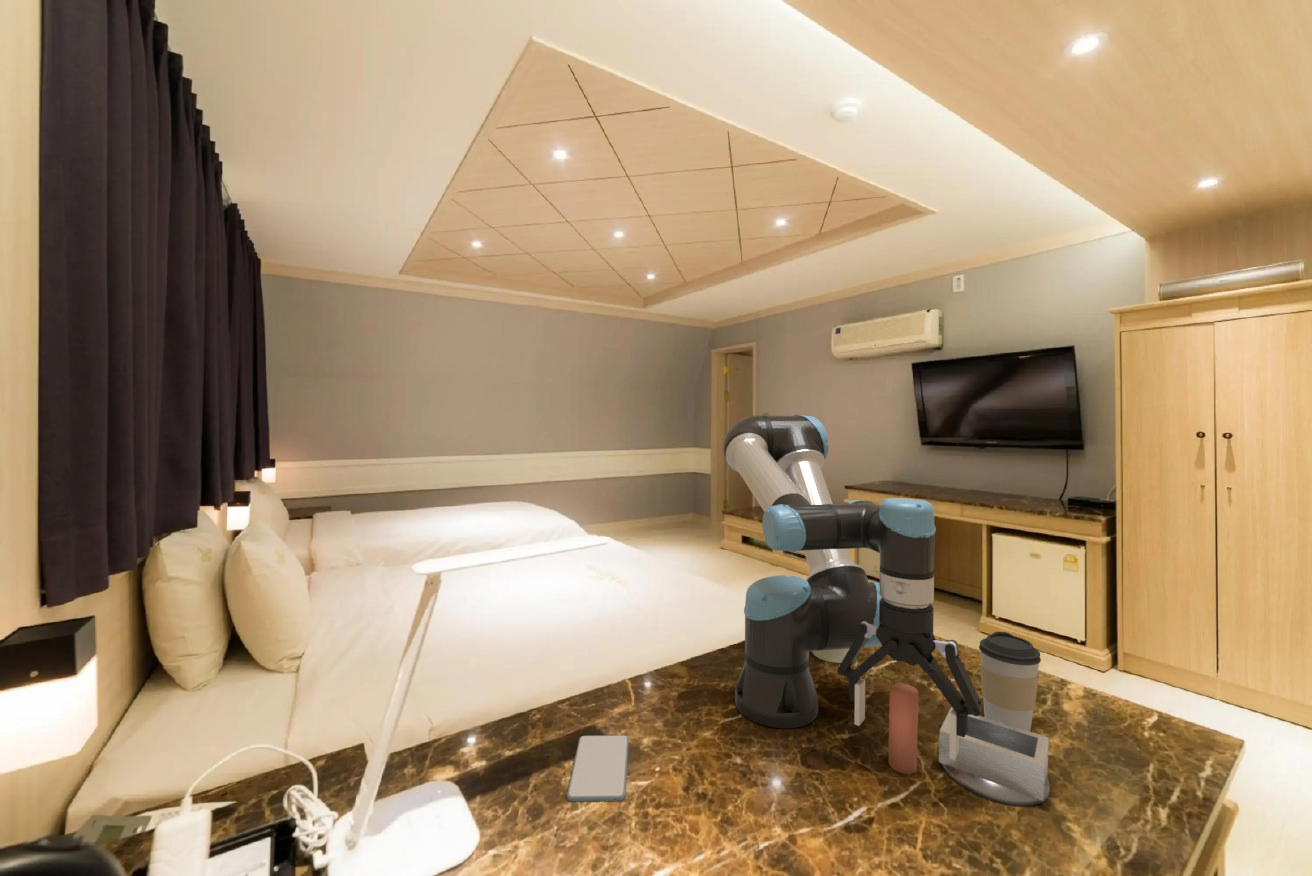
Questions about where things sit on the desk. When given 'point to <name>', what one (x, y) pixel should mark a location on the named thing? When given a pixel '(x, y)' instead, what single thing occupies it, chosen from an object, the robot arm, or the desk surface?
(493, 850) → the desk surface
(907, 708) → the pin
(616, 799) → the smartphone
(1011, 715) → the coffee cup
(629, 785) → the desk surface
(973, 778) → the rosette bracket
